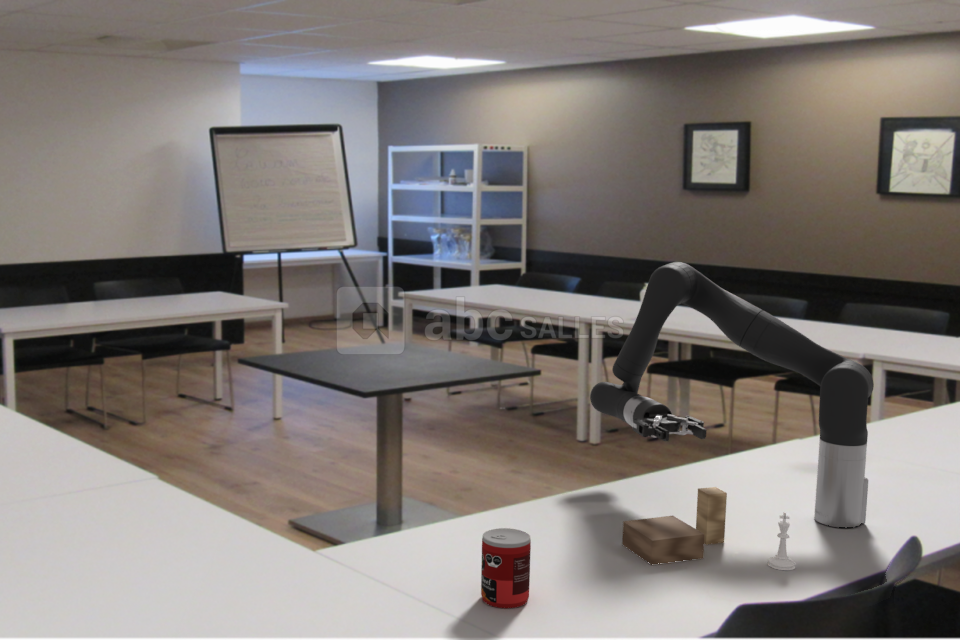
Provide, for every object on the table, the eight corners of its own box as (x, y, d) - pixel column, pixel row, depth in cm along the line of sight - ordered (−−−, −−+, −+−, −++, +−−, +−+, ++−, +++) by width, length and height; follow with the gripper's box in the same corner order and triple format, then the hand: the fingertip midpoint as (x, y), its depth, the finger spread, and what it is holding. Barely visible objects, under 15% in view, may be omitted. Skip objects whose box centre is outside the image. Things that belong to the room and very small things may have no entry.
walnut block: (671, 540, 195) (672, 515, 194) (703, 560, 184) (704, 534, 184) (622, 546, 191) (623, 521, 190) (651, 567, 181) (652, 540, 180)
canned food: (478, 590, 168) (480, 528, 166) (525, 589, 168) (527, 527, 167) (482, 609, 160) (484, 544, 159) (532, 609, 161) (533, 543, 159)
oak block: (713, 535, 196) (715, 487, 195) (724, 542, 193) (726, 493, 191) (695, 537, 195) (697, 488, 194) (706, 544, 191) (708, 494, 190)
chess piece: (796, 571, 179) (800, 518, 177) (768, 569, 180) (771, 515, 178) (794, 561, 184) (797, 509, 182) (766, 559, 185) (769, 507, 183)
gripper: (619, 400, 214) (656, 419, 198) (677, 397, 218) (717, 415, 203) (616, 434, 215) (653, 455, 200) (674, 430, 219) (715, 451, 204)
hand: (686, 435), depth 201 cm, fingers open, 8 cm apart
